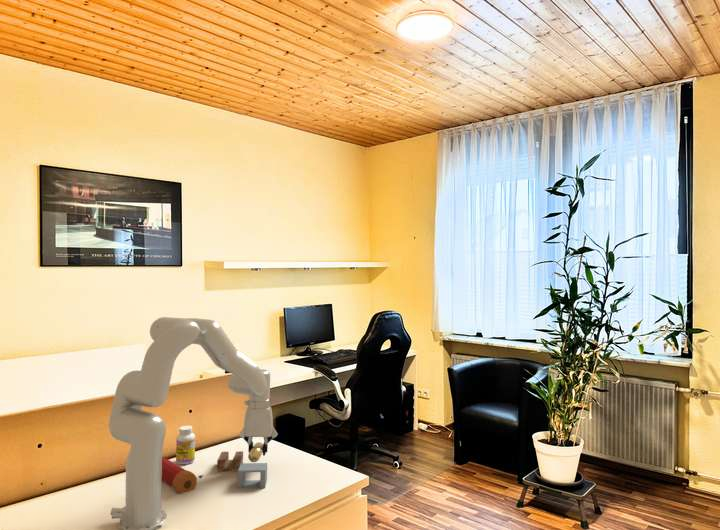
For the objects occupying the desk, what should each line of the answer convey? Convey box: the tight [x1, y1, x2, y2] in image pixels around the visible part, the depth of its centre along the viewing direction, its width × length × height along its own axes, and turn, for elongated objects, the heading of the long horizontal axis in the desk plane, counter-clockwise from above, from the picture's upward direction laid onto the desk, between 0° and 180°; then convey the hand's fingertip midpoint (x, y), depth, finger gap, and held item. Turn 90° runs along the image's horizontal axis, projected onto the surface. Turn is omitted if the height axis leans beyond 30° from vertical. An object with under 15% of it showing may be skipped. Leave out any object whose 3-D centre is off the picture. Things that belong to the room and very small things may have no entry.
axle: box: [247, 441, 264, 463], centre depth 181 cm, size 14×4×4 cm, turn 5°
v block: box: [216, 450, 244, 473], centre depth 184 cm, size 8×8×5 cm
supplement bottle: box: [175, 425, 196, 465], centre depth 190 cm, size 7×7×13 cm
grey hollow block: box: [237, 462, 268, 489], centre depth 169 cm, size 6×9×7 cm
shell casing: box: [162, 457, 198, 495], centre depth 170 cm, size 7×20×7 cm, turn 45°
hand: (257, 453), depth 185 cm, fingers closed on axle, 4 cm apart
